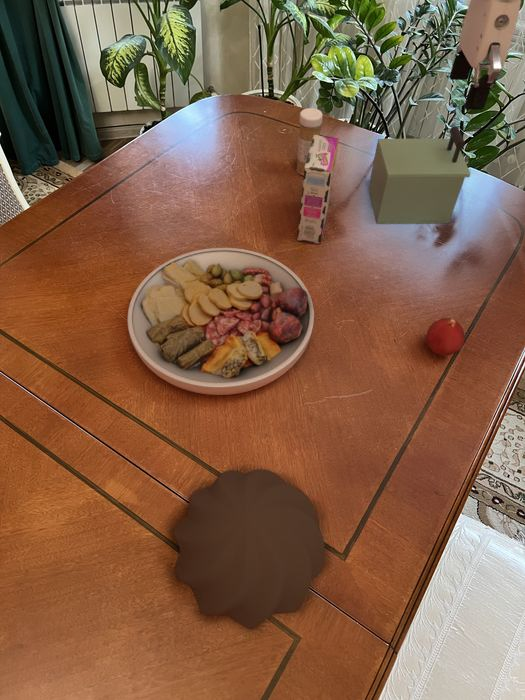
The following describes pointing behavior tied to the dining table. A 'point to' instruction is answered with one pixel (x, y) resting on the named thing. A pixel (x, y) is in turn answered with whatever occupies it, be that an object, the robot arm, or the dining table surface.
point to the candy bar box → (317, 188)
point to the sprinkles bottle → (307, 134)
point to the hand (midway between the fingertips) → (465, 93)
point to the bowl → (220, 320)
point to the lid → (424, 157)
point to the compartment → (412, 197)
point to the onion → (445, 336)
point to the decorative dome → (249, 546)
